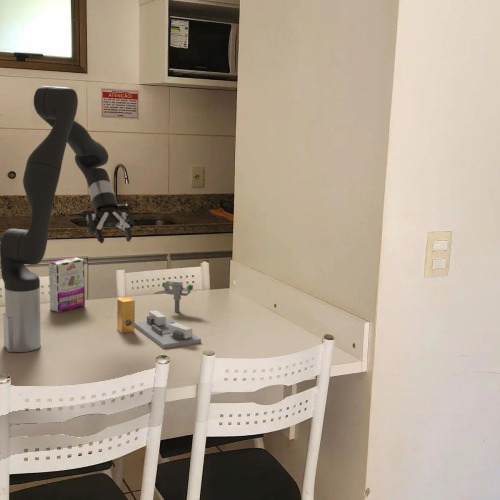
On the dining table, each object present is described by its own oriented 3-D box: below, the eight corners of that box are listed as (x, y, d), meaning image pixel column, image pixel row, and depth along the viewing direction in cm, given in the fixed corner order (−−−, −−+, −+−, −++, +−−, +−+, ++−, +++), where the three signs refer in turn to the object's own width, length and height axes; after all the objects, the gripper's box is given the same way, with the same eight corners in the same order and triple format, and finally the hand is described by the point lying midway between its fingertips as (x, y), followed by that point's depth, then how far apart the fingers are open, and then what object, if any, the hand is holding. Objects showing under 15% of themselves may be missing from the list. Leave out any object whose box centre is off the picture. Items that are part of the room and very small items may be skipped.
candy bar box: (75, 303, 233) (75, 256, 229) (85, 306, 230) (85, 259, 226) (48, 309, 224) (48, 261, 220) (58, 312, 221) (57, 264, 218)
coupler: (122, 334, 204) (122, 302, 202) (116, 329, 207) (117, 298, 205) (134, 332, 206) (135, 300, 204) (129, 327, 209) (129, 296, 207)
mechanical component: (190, 314, 226) (191, 285, 224) (161, 311, 228) (161, 282, 226) (192, 312, 229) (193, 283, 227) (163, 309, 231) (164, 280, 229)
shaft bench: (163, 348, 193) (164, 333, 192) (134, 326, 211) (134, 312, 210) (200, 342, 199) (201, 328, 198) (169, 321, 217) (169, 308, 216)
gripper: (83, 191, 207) (96, 235, 200) (128, 190, 214) (141, 232, 207) (78, 206, 212) (90, 249, 205) (121, 204, 220) (134, 246, 212)
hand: (116, 241), depth 206 cm, fingers open, 8 cm apart
